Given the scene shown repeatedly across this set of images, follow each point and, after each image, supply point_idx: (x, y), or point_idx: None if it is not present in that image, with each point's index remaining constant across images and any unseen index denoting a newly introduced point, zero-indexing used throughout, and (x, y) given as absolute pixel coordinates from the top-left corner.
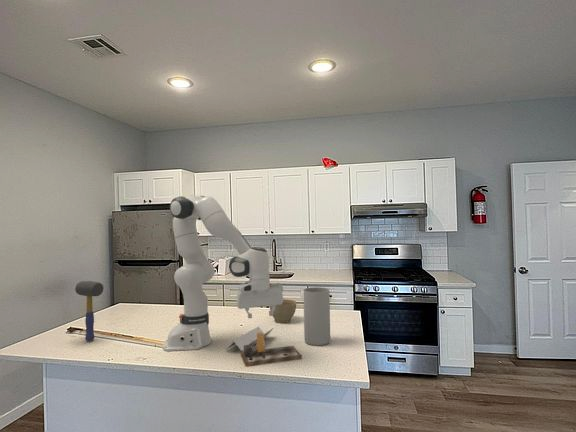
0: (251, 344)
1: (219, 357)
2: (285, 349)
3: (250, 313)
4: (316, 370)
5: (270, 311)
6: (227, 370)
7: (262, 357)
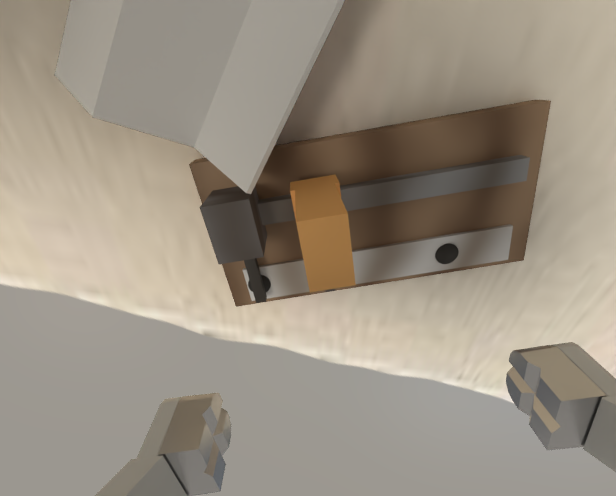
0: (253, 82)
1: (64, 165)
2: (472, 187)
3: (189, 462)
4: None
5: (574, 423)
6: (161, 318)
7: None
